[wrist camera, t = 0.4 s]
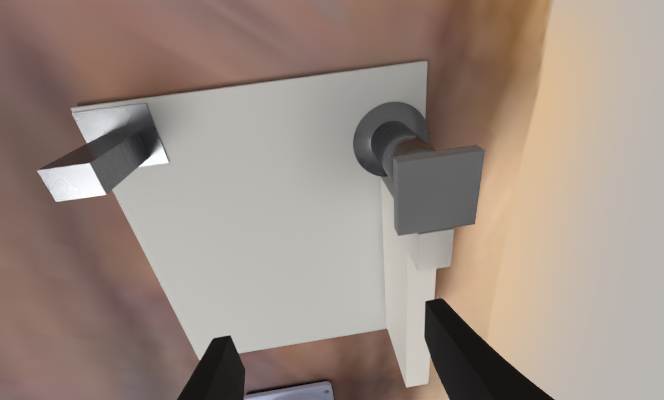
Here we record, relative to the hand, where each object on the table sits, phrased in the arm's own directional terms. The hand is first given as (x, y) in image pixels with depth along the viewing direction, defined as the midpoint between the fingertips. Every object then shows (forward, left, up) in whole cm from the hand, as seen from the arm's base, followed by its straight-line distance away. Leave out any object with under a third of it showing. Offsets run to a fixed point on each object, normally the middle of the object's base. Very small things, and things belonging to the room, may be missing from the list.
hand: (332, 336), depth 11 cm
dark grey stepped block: (+6, +9, -10) cm, 15 cm away
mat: (-2, +2, -10) cm, 10 cm away
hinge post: (+4, -5, -10) cm, 11 cm away
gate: (-3, -5, -9) cm, 10 cm away
